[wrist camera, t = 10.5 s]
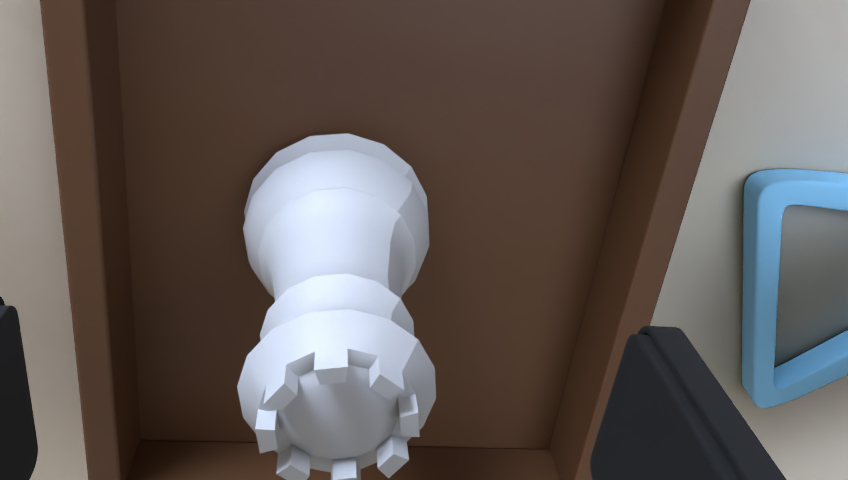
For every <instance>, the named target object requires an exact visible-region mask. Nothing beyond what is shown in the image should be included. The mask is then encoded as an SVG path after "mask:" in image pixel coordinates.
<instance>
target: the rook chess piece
mask: <svg viewBox="0 0 848 480" xmlns="http://www.w3.org/2000/svg"><path fill="white" fill-rule="evenodd" d="M244 214H245V223H244V226H243V231H244V237H245V243H246V249H247V255H248V260H249V263H250V266H251V268H252V269H253V271H254V272H255V274H256V275H257V277H258V278H259V280H260V281H261V283H262V284H263V286H264V287H265V288H266V290H267V291H268V293H269V294H270V295H272V296H273V297H274V298H275V303H274V304H273V305H272V306H271V307H270V308H269V309H268V311H267V314H266V317H265V320H264V323H263V326H262V329H261V332H260V339H261V341H260V342H259V343H258V345H257V346H256V347H255V348H254V349H253V350H252V351H251V352H250V353H249V354H248V355H247V357H246V360H245V363H244V366H243V370H242V373H241V376H240V379H239V382H238V385H237V389H238V395H239V400H240V405H241V410H242V415H243V418H244V419H245V421H246V422H247V423H248V425H249V426H250V427H251V428H252V430H253V431H254V432H255V434H256V436H257V441H258V446H259V452H260V453H264V452H268V451H272V450H274V451H275V452H277V453H278V460H277V470H276V474H277V475H279V476H280V477H282V478H284V479H286V480H307V478H308V477H309V474H310V469H315V470H321V471H326V472H331V480H361V469H362V468H365V467H367V466H369V465H372V464H374V463H376V462H377V467H378V469H379V470H380V471H381V472H382V473H383V474H384V475H385V476H386V477H388V478H390V477H391V476H392V475H393V474H394V473H395V472H396V471H397V470H399V469H400V468H401V467H402V466H403V465H404V464H405V463H406V462H407V461H408V460H409V455H408V447H407V441H408V440H409V439H410V438H411V437H420V435H419V430H420V429H421V428H422V427H423V426H424V424H425V422H426V419H427V417H428V415H429V413H430V411H431V408H432V406H433V404H434V402H435V400H436V384H435V367H434V365H433V364H432V362H431V360H430V359H429V357H428V355H427V353H426V352H425V350H424V348H423V347H422V345H421V343H420V341H419V340H418V339H417V338H415V337H414V325H413V319H412V318H411V316H410V314H409V312H408V311H407V309H406V307H405V306H404V304H403V302H402V300H401V297H402V295H403V294H404V293H405V292H406V290H407V289H408V288H409V287H410V286H411V285H412V284H413V283H414V282H415V280H416V278H417V275H418V273H419V270H420V268H421V265H422V263H423V261H424V258H425V256H426V253H427V251H428V248H429V222H428V209H427V196H426V194H425V192H424V190H423V188H422V186H421V184H420V182H419V180H418V178H417V176H416V174H415V172H414V171H413V169H412V167H411V166H410V165H409V164H407V163H406V162H405V161H404V160H402V159H401V158H400V157H399V156H398V155H396V154H395V153H394V152H393V151H391V150H390V149H389V148H388V147H387V146H385V145H384V144H381V143H378V142H375V141H371V140H368V139H365V138H362V137H358V136H355V135H352V134H349V133H345V134H332V135H318V136H309V137H307V138H305V139H303V140H301V141H299V142H297V143H295V144H293V145H291V146H289V147H287V148H284V149H282V150H280V151H278V152H276V153H275V155H274V156H273V157H272V158H271V159H270V160H269V162H268V163H267V164H266V165H265V166H264V167H263V168H262V170H261V171H260V172H259V173H258V174H257V175H256V177H255V178H254V179H253V182H252V185H251V189H250V192H249V196H248V199H247V203H246V206H245V210H244Z"/></svg>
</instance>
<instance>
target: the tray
mask: <svg viewBox="0 0 848 480" xmlns="http://www.w3.org/2000/svg"><path fill="white" fill-rule="evenodd" d="M750 1H751V0H40V5H41V15H42V25H43V35H44V45H45V54H46V64H47V74H48V84H49V94H50V104H51V114H52V124H53V134H54V144H55V153H56V163H57V173H58V183H59V193H60V203H61V213H62V223H63V233H64V242H65V252H66V262H67V272H68V282H69V292H70V302H71V312H72V322H73V332H74V341H75V351H76V361H77V371H78V381H79V391H80V401H81V411H82V421H83V430H84V440H85V450H86V460H87V470H88V480H286V479H284V478H282V477H280V476H279V475H277V474H276V470H277V460H278V453H277V452H275V451H274V450H272V451H268V452H264V453H260V452H259V446H258V441H257V436H256V434H255V432H254V431H253V430H252V428H251V427H250V426H249V425H248V423H247V422H246V421H245V419H244V418H243V415H242V410H241V405H240V400H239V395H238V389H237V385H238V382H239V379H240V376H241V373H242V370H243V366H244V363H245V360H246V357H247V355H248V354H249V353H250V352H251V351H252V350H253V349H254V348H255V347H256V346H257V345H258V343H259V342H260V341H261V339H260V332H261V329H262V326H263V323H264V320H265V317H266V314H267V311H268V309H269V308H270V307H271V306H272V305H273V304H274V303H275V298H274V297H273V296H272V295H270V294H269V293H268V291H267V290H266V288H265V287H264V286H263V284H262V283H261V281H260V280H259V278H258V277H257V275H256V274H255V272H254V271H253V269H252V268H251V266H250V263H249V260H248V255H247V249H246V243H245V237H244V231H243V226H244V223H245V214H244V210H245V206H246V203H247V199H248V196H249V192H250V189H251V185H252V182H253V179H254V178H255V177H256V175H257V174H258V173H259V172H260V171H261V170H262V168H263V167H264V166H265V165H266V164H267V163H268V162H269V160H270V159H271V158H272V157H273V156H274V155H275V153H276V152H278V151H280V150H282V149H284V148H287V147H289V146H291V145H293V144H295V143H297V142H299V141H301V140H303V139H305V138H307V137H309V136H318V135H332V134H345V133H349V134H352V135H355V136H358V137H362V138H365V139H368V140H371V141H375V142H378V143H381V144H384V145H385V146H387V147H388V148H389V149H390V150H391V151H393V152H394V153H395V154H396V155H398V156H399V157H400V158H401V159H402V160H404V161H405V162H406V163H407V164H409V165H410V166H411V167H412V169H413V171H414V172H415V174H416V176H417V178H418V180H419V182H420V184H421V186H422V188H423V190H424V192H425V194H426V196H427V209H428V222H429V248H428V251H427V253H426V256H425V258H424V261H423V263H422V265H421V268H420V270H419V273H418V275H417V278H416V280H415V282H414V283H413V284H412V285H411V286H410V287H409V288H408V289H407V290H406V292H405V293H404V294H403V295H402V297H401V300H402V302H403V304H404V306H405V307H406V309H407V311H408V312H409V314H410V316H411V318H412V319H413V325H414V337H415V338H417V339H418V340H419V341H420V343H421V345H422V347H423V348H424V350H425V352H426V353H427V355H428V357H429V359H430V360H431V362H432V364H433V365H434V367H435V384H436V400H435V402H434V404H433V406H432V408H431V411H430V413H429V415H428V417H427V419H426V422H425V424H424V426H423V427H422V428H421V429H420V430H419V435H420V437H411V438H410V439H409V440H408V441H407V447H408V455H409V460H408V461H407V462H406V463H405V464H404V465H403V466H402V467H401V468H400V469H399V470H397V471H396V472H395V473H394V474H393V475H392V476H391V477H390V478H388V477H386V476H385V475H384V474H383V473H382V472H381V471H380V470H379V469H378V467H377V462H376V463H374V464H372V465H369V466H367V467H365V468H362V469H361V480H593V479H592V476H591V470H590V460H591V454H592V451H593V448H594V445H595V441H596V438H597V435H598V432H599V429H600V425H601V422H602V419H603V416H604V413H605V409H606V406H607V403H608V400H609V397H610V393H611V390H612V387H613V384H614V381H615V377H616V374H617V371H618V368H619V365H620V362H621V358H622V355H623V352H624V349H625V346H626V342H627V340H628V338H629V337H630V335H633V334H638V331H639V330H640V329H641V328H642V327H644V326H650V322H651V319H652V316H653V313H654V309H655V306H656V303H657V300H658V297H659V293H660V290H661V287H662V284H663V281H664V277H665V274H666V271H667V268H668V264H669V261H670V258H671V255H672V252H673V248H674V245H675V242H676V239H677V235H678V232H679V229H680V226H681V223H682V219H683V216H684V213H685V210H686V207H687V203H688V200H689V197H690V194H691V190H692V187H693V184H694V181H695V178H696V174H697V171H698V168H699V165H700V162H701V158H702V155H703V152H704V149H705V145H706V142H707V139H708V136H709V133H710V129H711V126H712V123H713V120H714V117H715V113H716V110H717V107H718V104H719V100H720V97H721V94H722V91H723V88H724V84H725V81H726V78H727V75H728V71H729V68H730V65H731V62H732V59H733V55H734V52H735V49H736V46H737V43H738V39H739V36H740V33H741V30H742V26H743V23H744V20H745V17H746V14H747V10H748V7H749V4H750ZM307 480H331V472H326V471H321V470H315V469H310V474H309V477H308V478H307Z"/></svg>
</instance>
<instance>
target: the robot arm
mask: <svg viewBox="0 0 848 480" xmlns="http://www.w3.org/2000/svg"><path fill="white" fill-rule="evenodd" d="M37 453H38V445H37V437H36V431H35V424H34V418H33V411H32V404H31V398H30V391H29V385H28V378H27V371H26V365H25V358H24V352H23V345H22V339H21V332H20V325H19V319H18V314H17V310H16V308H15V307H13V306H5V304H4V301H3V299H2V298H1V297H0V480H29V479H30V477H31V475H32V473H33V470H34V468H35V464H36V460H37ZM590 470H591V476H592V479H593V480H786V479H785V477H784V476H783V474H782V473H781V471H780V470H779V468H778V467H777V466H776V464H775V463H774V461H773V460H772V458H771V457H770V456H769V454H768V453H767V451H766V450H765V448H764V447H763V446H762V444H761V443H760V441H759V440H758V438H757V437H756V436H755V434H754V433H753V431H752V430H751V428H750V427H749V426H748V424H747V423H746V421H745V420H744V418H743V417H742V416H741V414H740V413H739V411H738V410H737V408H736V407H735V405H734V404H733V403H732V401H731V400H730V398H729V397H728V395H727V394H726V393H725V391H724V390H723V388H722V387H721V385H720V384H719V383H718V381H717V380H716V378H715V377H714V375H713V374H712V373H711V371H710V370H709V368H708V367H707V365H706V364H705V363H704V361H703V360H702V358H701V357H700V355H699V354H698V352H697V351H696V350H695V348H694V347H693V345H692V344H691V342H690V341H689V340H688V338H687V337H686V335H685V334H684V332H683V331H682V330H681V329H679V328H676V327H657V326H644V327H642V328H641V329H640V330H639V331H638V334H633V335H630V337H629V338H628V340H627V342H626V346H625V349H624V352H623V355H622V358H621V362H620V365H619V368H618V371H617V374H616V377H615V381H614V384H613V387H612V390H611V393H610V397H609V400H608V403H607V406H606V409H605V413H604V416H603V419H602V422H601V425H600V429H599V432H598V435H597V438H596V441H595V445H594V448H593V451H592V454H591V460H590Z"/></svg>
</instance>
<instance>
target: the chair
mask: <svg viewBox="0 0 848 480" xmlns="http://www.w3.org/2000/svg"><path fill="white" fill-rule="evenodd" d="M789 205H805V206H815V207H822V208H829V209H836V210H844V211H848V173H838V172H826V171H814V170H801V169H772V170H765V171H758V172H756V173H754V174H752V175H750V176H749V178H748V179H747V181H746V183H745V186H744V224H743V324H742V384H743V387H744V388H745V390H746V391H747V393H748V394H749V396H750V397H751V399H752V400H753V402H754V403H755V405H756V406H757V407H759V408H769V407H773V406H777V405H780V404H783V403H786V402H788V401H791V400H793V399H796V398H799V397H801V396H803V395H805V394H808V393H810V392H812V391H814V390H816V389H818V388H821V387H823V386H825V385H827V384H829V383H832V382H834V381H836V380H838V379H840V378H842V377H844V376H846V375H848V330H847V331H845V332H843V333H841V334H839V335H837V336H835V337H834V338H832V339H830V340H828V341H826V342H824V343H822V344H820V345H818V346H817V347H815V348H813V349H811V350H809V351H807V352H805V353H803V354H801V355H799V356H797V357H795V358H794V359H792V360H790V361H788V362H786V363H784V364H782V365H780V366H778V367H775V368H774V361H775V341H776V321H777V302H778V282H779V263H780V245H781V226H782V215H783V212H784V210H785V207H786V206H789Z"/></svg>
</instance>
